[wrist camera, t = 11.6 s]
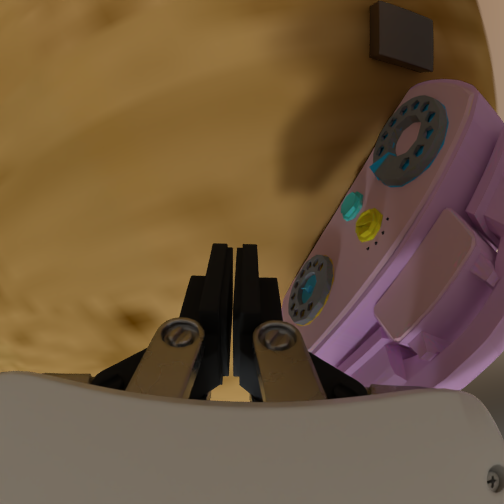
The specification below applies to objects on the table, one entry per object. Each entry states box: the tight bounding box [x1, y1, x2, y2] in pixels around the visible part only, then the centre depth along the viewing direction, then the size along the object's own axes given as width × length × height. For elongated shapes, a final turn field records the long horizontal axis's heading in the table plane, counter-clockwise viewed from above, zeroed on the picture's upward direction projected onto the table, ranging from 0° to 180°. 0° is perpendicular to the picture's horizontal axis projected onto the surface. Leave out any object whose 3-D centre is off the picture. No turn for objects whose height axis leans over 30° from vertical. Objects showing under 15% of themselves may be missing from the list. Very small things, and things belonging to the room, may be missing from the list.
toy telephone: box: [282, 79, 504, 391], centre depth 11 cm, size 18×6×10 cm, turn 154°
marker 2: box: [370, 1, 433, 73], centre depth 9 cm, size 3×3×1 cm
